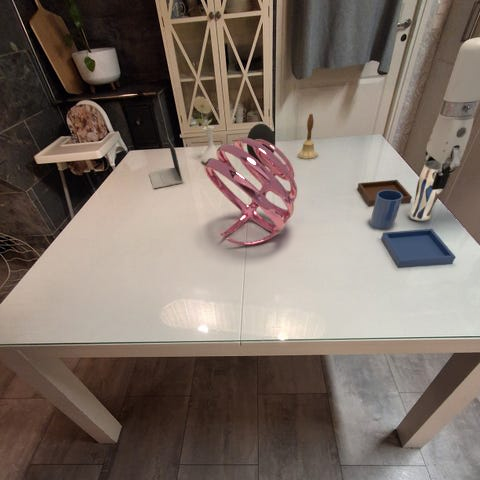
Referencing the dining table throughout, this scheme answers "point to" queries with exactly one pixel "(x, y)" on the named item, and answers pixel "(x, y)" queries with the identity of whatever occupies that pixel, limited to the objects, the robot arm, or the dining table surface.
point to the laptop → (167, 173)
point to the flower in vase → (206, 128)
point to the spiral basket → (257, 196)
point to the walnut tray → (372, 188)
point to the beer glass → (426, 192)
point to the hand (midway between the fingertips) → (431, 182)
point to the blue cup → (386, 209)
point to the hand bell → (308, 142)
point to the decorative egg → (260, 133)
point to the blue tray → (417, 248)
